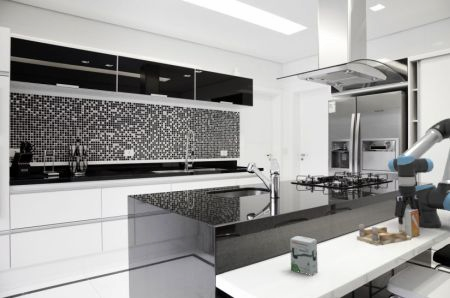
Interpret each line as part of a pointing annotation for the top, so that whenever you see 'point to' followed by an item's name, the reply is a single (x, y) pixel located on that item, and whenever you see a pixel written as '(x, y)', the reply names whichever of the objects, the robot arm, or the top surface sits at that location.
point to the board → (380, 235)
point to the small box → (411, 222)
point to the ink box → (304, 254)
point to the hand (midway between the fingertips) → (409, 229)
